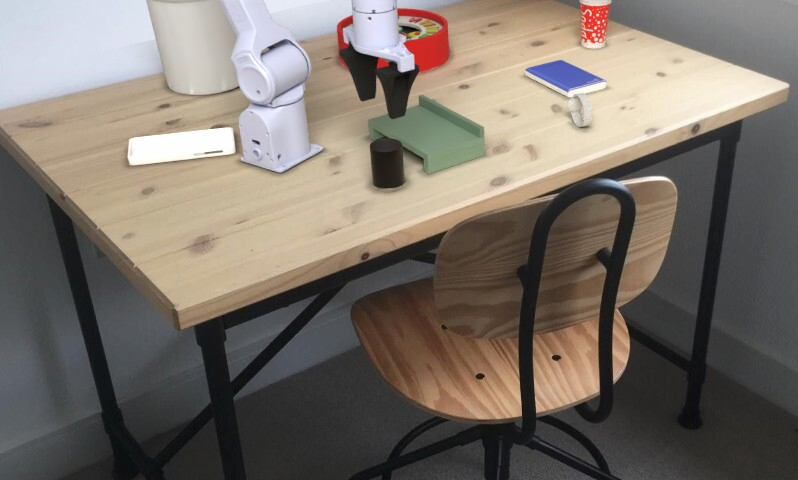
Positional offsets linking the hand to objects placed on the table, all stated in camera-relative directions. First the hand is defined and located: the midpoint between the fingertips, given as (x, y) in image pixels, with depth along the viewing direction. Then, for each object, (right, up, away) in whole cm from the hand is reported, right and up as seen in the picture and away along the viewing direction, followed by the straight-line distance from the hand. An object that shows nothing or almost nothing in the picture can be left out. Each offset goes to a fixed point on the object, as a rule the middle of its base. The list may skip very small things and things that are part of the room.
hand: (382, 107), depth 130 cm
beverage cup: (+33, +23, +52) cm, 66 cm away
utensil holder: (-35, +12, +36) cm, 52 cm away
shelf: (+5, -3, +14) cm, 15 cm away
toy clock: (-4, +19, +47) cm, 51 cm away
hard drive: (+27, +12, +36) cm, 46 cm away
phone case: (-31, -4, +13) cm, 34 cm away
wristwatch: (+28, +1, +21) cm, 35 cm away
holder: (0, -10, +4) cm, 11 cm away
